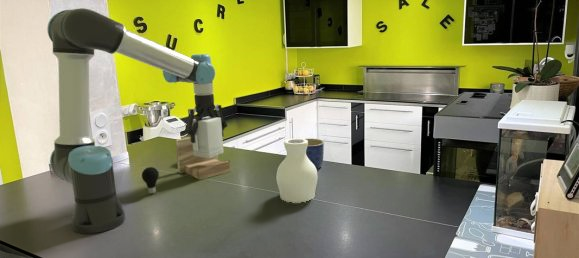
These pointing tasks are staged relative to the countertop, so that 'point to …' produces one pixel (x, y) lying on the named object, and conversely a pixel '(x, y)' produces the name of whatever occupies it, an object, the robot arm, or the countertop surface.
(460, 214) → the countertop surface
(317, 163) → the planter
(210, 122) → the supplement box
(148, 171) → the light bulb
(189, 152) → the cleat board
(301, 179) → the vase
